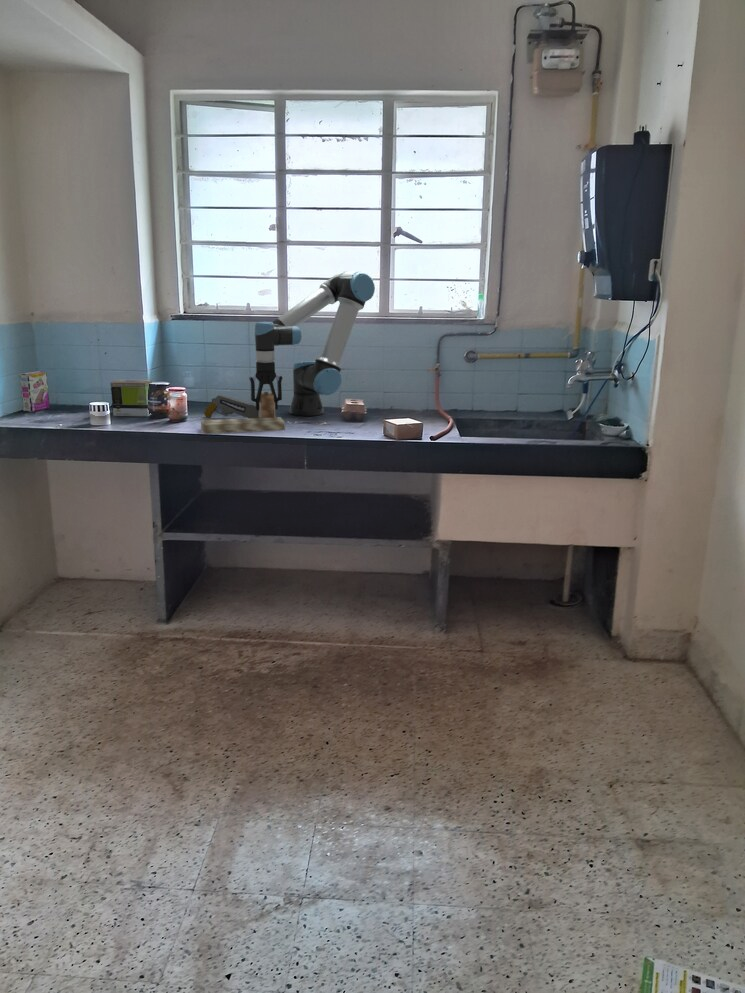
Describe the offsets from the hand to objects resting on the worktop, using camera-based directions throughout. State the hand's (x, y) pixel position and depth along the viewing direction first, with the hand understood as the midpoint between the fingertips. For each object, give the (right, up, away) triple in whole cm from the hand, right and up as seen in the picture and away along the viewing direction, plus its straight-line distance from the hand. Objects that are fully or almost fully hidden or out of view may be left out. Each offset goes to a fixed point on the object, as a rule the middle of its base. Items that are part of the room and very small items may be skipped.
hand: (267, 417), depth 303 cm
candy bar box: (-104, +5, +18) cm, 105 cm away
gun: (-15, 0, +10) cm, 18 cm away
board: (-8, -6, -10) cm, 15 cm away
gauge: (+1, -2, -3) cm, 4 cm away
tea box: (-60, +2, +13) cm, 61 cm away
